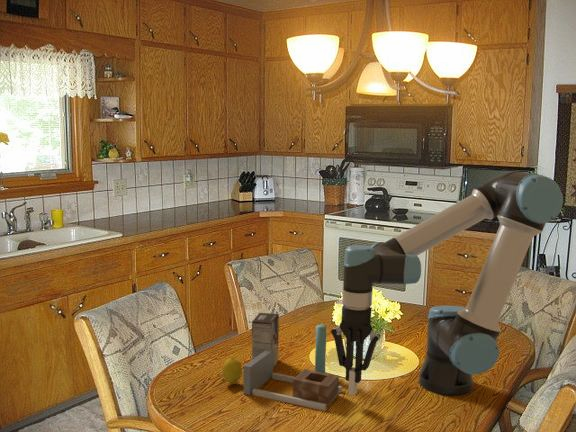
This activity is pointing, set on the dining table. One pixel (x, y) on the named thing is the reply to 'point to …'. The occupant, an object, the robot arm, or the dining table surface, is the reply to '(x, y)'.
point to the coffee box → (265, 335)
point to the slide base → (263, 371)
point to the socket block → (316, 386)
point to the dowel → (320, 348)
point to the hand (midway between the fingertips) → (352, 392)
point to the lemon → (232, 370)
